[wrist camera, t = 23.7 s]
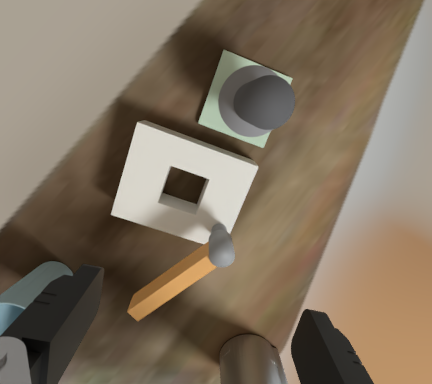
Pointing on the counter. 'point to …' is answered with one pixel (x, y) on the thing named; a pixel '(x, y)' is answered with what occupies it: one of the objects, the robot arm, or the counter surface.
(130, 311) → the tan piece
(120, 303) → the counter surface
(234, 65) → the pad
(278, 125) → the plug
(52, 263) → the cup
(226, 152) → the socket block
